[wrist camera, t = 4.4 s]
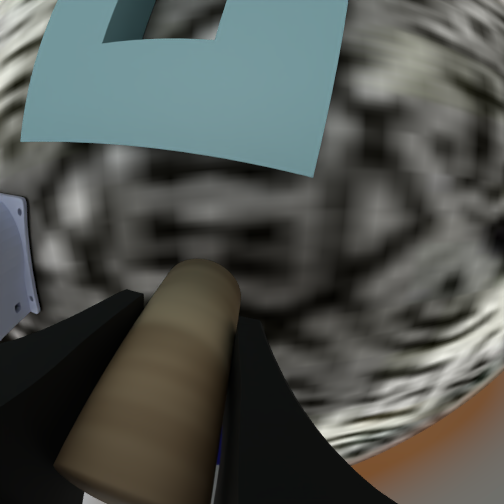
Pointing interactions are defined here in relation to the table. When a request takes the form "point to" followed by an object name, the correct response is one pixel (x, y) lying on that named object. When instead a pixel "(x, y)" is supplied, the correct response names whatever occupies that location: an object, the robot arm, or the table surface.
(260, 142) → the socket block
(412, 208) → the table surface
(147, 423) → the oak peg
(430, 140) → the table surface
